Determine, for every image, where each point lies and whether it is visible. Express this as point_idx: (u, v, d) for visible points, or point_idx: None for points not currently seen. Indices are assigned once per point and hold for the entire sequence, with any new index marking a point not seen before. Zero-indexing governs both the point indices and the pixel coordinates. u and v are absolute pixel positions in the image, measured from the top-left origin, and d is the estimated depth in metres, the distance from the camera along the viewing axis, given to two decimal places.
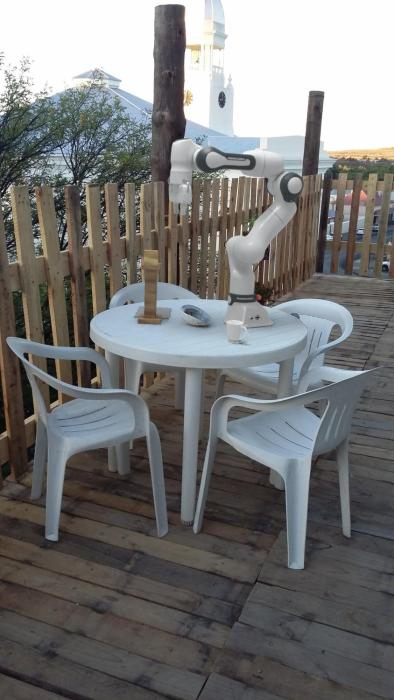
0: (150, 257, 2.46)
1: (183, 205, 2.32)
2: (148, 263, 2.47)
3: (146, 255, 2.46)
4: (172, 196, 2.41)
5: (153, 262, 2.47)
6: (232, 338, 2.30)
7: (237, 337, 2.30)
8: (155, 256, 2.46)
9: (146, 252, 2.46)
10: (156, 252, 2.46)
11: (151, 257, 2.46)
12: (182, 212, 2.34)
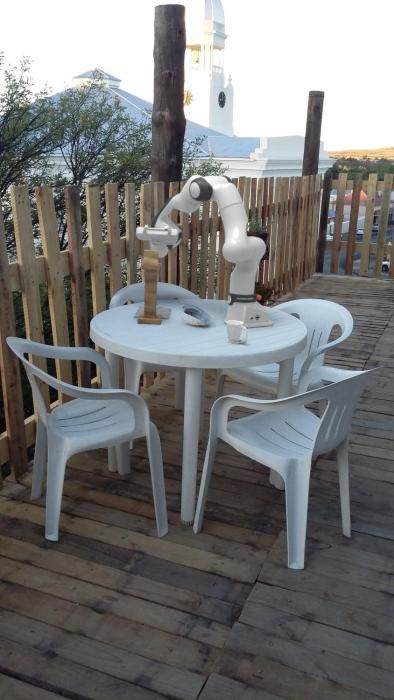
0: (150, 257, 2.46)
1: (143, 230, 2.71)
2: (148, 263, 2.47)
3: (146, 255, 2.46)
4: (166, 237, 2.73)
5: (153, 262, 2.47)
6: (232, 338, 2.30)
7: (237, 337, 2.30)
8: (155, 256, 2.46)
9: (146, 252, 2.46)
10: (156, 252, 2.46)
11: (151, 257, 2.46)
12: (145, 228, 2.68)
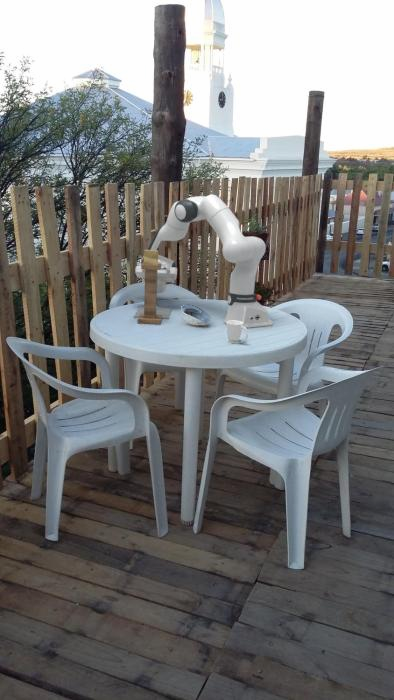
0: (150, 257, 2.46)
1: (142, 269, 2.74)
2: (148, 263, 2.47)
3: (146, 255, 2.46)
4: (165, 275, 2.76)
5: (153, 262, 2.47)
6: (232, 338, 2.30)
7: (237, 337, 2.30)
8: (155, 256, 2.46)
9: (146, 252, 2.46)
10: (156, 252, 2.46)
11: (151, 257, 2.46)
12: None
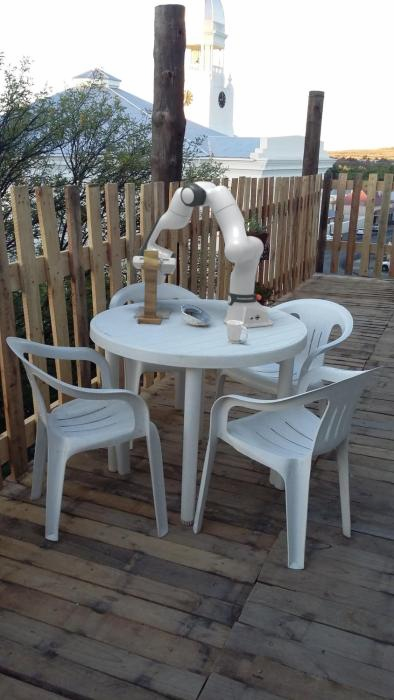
0: (150, 257, 2.46)
1: None
2: (148, 263, 2.47)
3: (146, 255, 2.46)
4: (164, 266, 2.66)
5: (153, 262, 2.47)
6: (232, 338, 2.30)
7: (237, 337, 2.30)
8: (155, 256, 2.46)
9: (146, 252, 2.46)
10: (156, 252, 2.46)
11: (151, 257, 2.46)
12: None
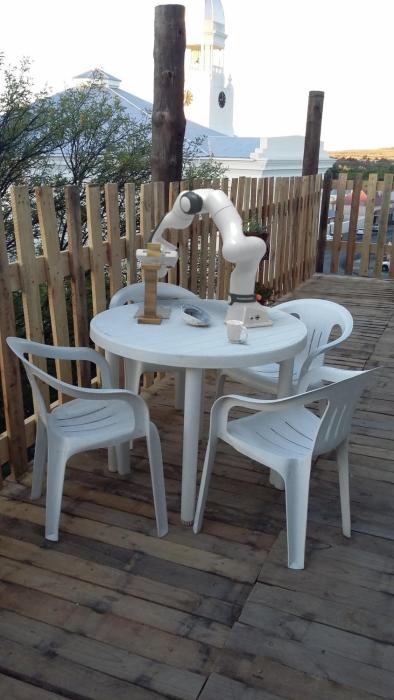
0: (153, 250, 2.58)
1: None
2: (151, 255, 2.59)
3: (149, 248, 2.58)
4: (166, 258, 2.78)
5: (156, 255, 2.59)
6: (232, 338, 2.30)
7: (237, 337, 2.30)
8: (157, 249, 2.58)
9: (149, 245, 2.58)
10: (158, 245, 2.58)
11: (154, 250, 2.58)
12: None
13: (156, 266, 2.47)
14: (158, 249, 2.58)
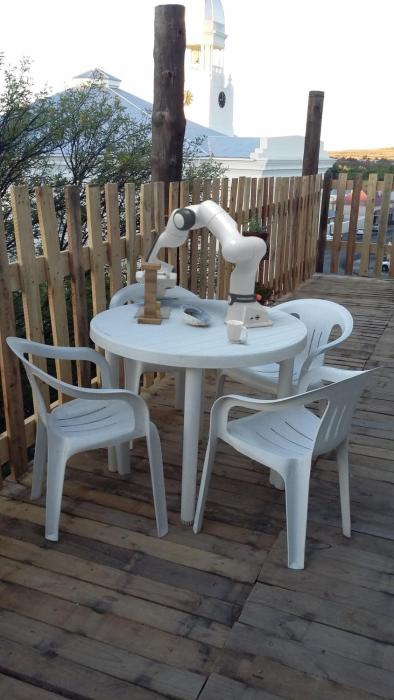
0: None
1: (142, 275, 2.78)
2: None
3: None
4: (165, 280, 2.81)
5: (156, 313, 2.68)
6: (232, 338, 2.30)
7: (237, 337, 2.30)
8: (158, 307, 2.67)
9: None
10: (159, 303, 2.66)
11: None
12: (144, 273, 2.75)
13: (156, 266, 2.47)
14: (158, 307, 2.67)
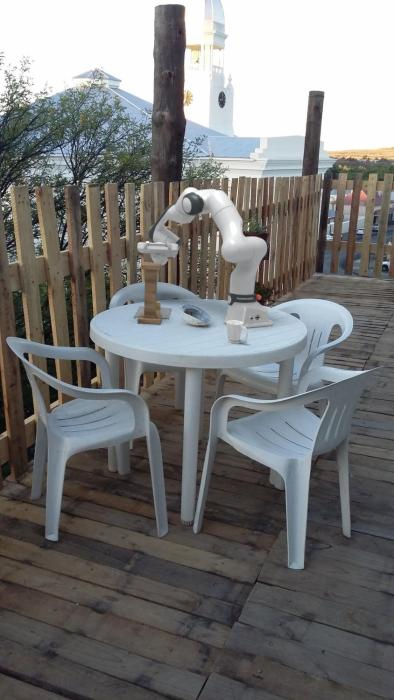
0: None
1: (144, 246, 2.80)
2: None
3: None
4: (167, 251, 2.83)
5: (156, 313, 2.68)
6: (232, 338, 2.30)
7: (237, 337, 2.30)
8: (158, 307, 2.67)
9: None
10: (159, 303, 2.66)
11: None
12: (145, 244, 2.77)
13: (156, 266, 2.47)
14: (158, 307, 2.67)
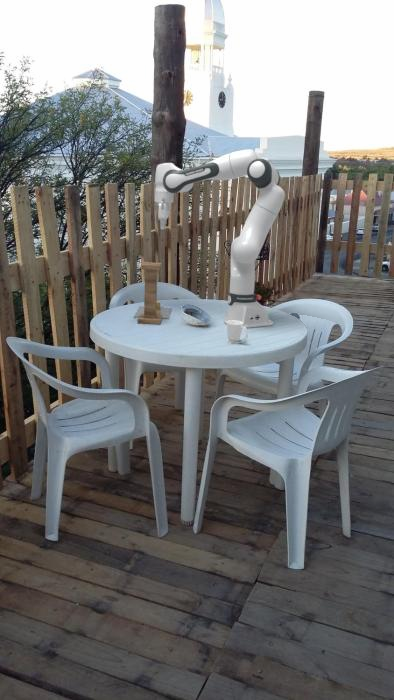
0: None
1: (161, 220, 2.66)
2: None
3: None
4: None
5: (156, 313, 2.68)
6: (232, 338, 2.30)
7: (237, 337, 2.30)
8: (158, 307, 2.67)
9: None
10: (159, 303, 2.66)
11: None
12: (161, 226, 2.68)
13: (156, 266, 2.47)
14: (158, 307, 2.67)
